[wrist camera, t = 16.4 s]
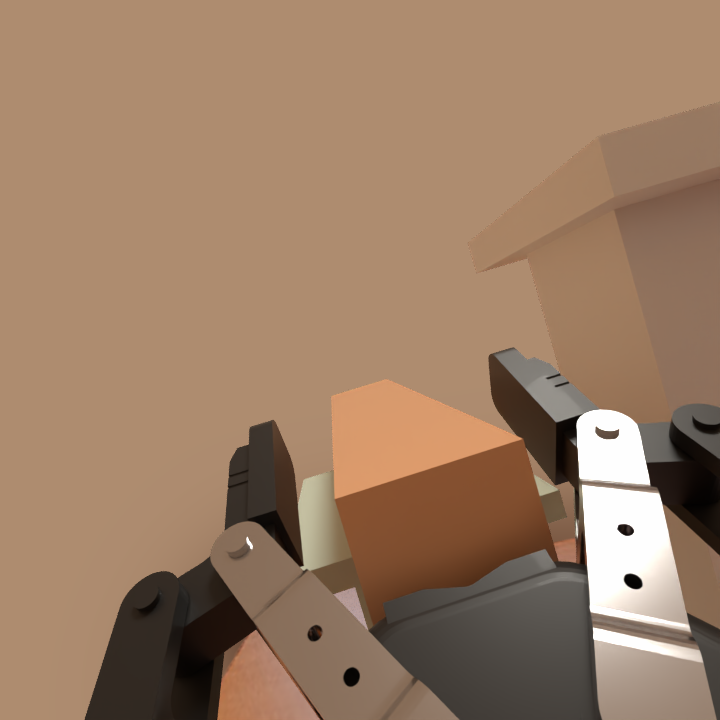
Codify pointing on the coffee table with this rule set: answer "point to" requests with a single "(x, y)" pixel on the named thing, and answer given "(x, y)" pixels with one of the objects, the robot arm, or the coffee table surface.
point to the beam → (429, 493)
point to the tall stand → (632, 285)
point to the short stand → (329, 543)
